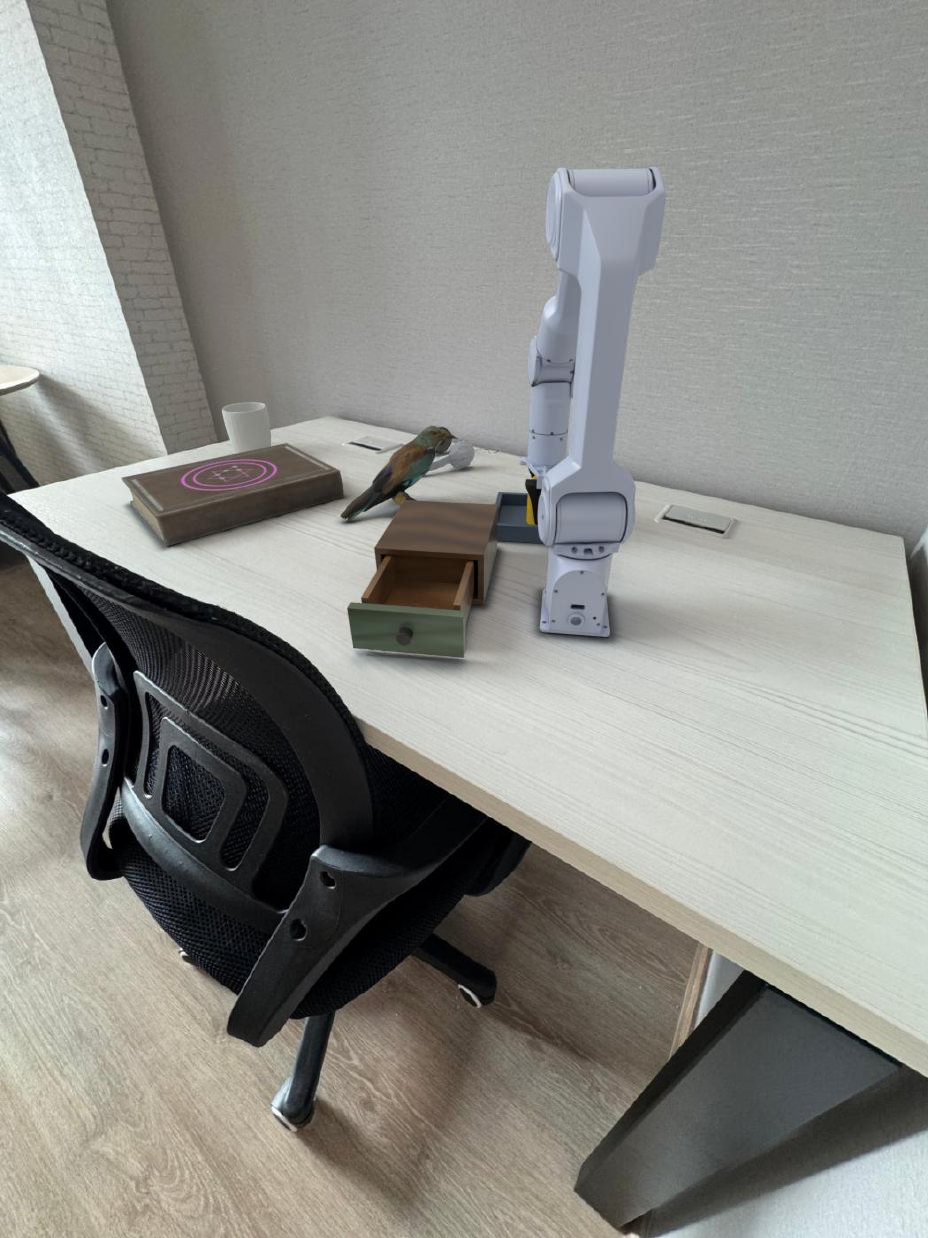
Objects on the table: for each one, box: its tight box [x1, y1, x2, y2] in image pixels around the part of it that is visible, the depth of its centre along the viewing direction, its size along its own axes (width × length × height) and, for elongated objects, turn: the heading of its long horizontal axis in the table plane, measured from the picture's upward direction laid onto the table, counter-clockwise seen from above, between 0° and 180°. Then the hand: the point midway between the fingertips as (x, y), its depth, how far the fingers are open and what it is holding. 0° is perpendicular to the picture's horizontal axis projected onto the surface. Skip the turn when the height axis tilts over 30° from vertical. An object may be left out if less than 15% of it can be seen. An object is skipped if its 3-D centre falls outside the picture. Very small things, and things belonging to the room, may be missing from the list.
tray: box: [494, 491, 544, 544], centre depth 90 cm, size 14×16×3 cm
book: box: [121, 442, 344, 547], centre depth 99 cm, size 30×22×5 cm
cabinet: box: [373, 499, 498, 606], centre depth 76 cm, size 16×14×7 cm
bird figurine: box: [339, 425, 459, 523], centre depth 93 cm, size 13×10×20 cm
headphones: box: [389, 426, 502, 472], centre depth 114 cm, size 17×6×20 cm
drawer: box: [346, 554, 476, 659], centre depth 65 cm, size 16×12×5 cm
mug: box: [221, 401, 272, 454], centre depth 121 cm, size 13×9×10 cm
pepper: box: [526, 476, 537, 525], centre depth 88 cm, size 5×5×9 cm
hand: (542, 516), depth 90 cm, fingers open, 5 cm apart
